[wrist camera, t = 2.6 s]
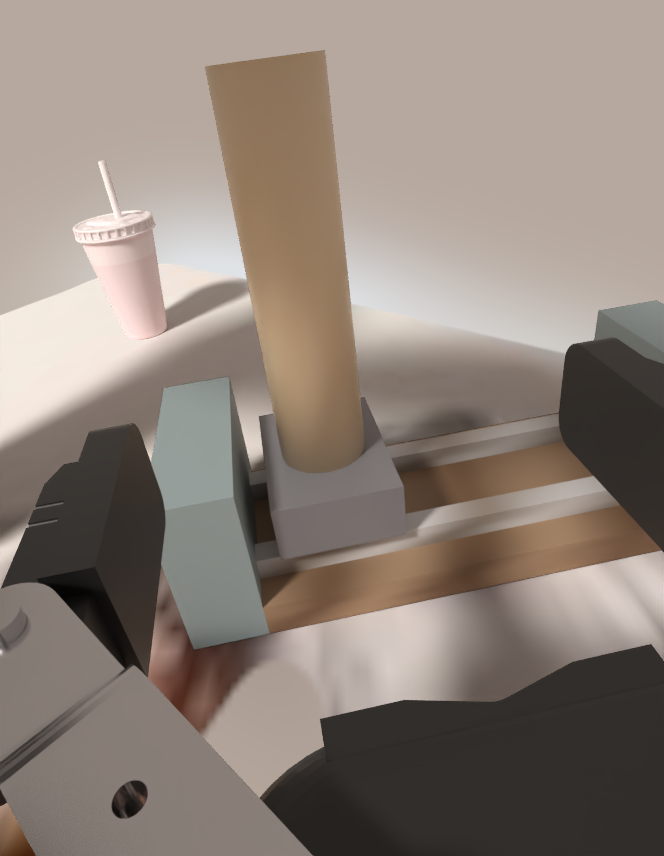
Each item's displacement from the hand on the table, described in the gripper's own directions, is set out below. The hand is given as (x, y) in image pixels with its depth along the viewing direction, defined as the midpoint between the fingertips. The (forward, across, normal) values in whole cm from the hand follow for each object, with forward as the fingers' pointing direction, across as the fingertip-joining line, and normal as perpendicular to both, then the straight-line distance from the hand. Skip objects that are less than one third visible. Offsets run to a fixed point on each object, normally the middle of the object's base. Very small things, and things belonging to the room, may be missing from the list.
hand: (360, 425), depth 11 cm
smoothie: (+42, +12, +13) cm, 46 cm away
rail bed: (+11, -6, +13) cm, 18 cm away
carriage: (+11, 0, +10) cm, 15 cm away
